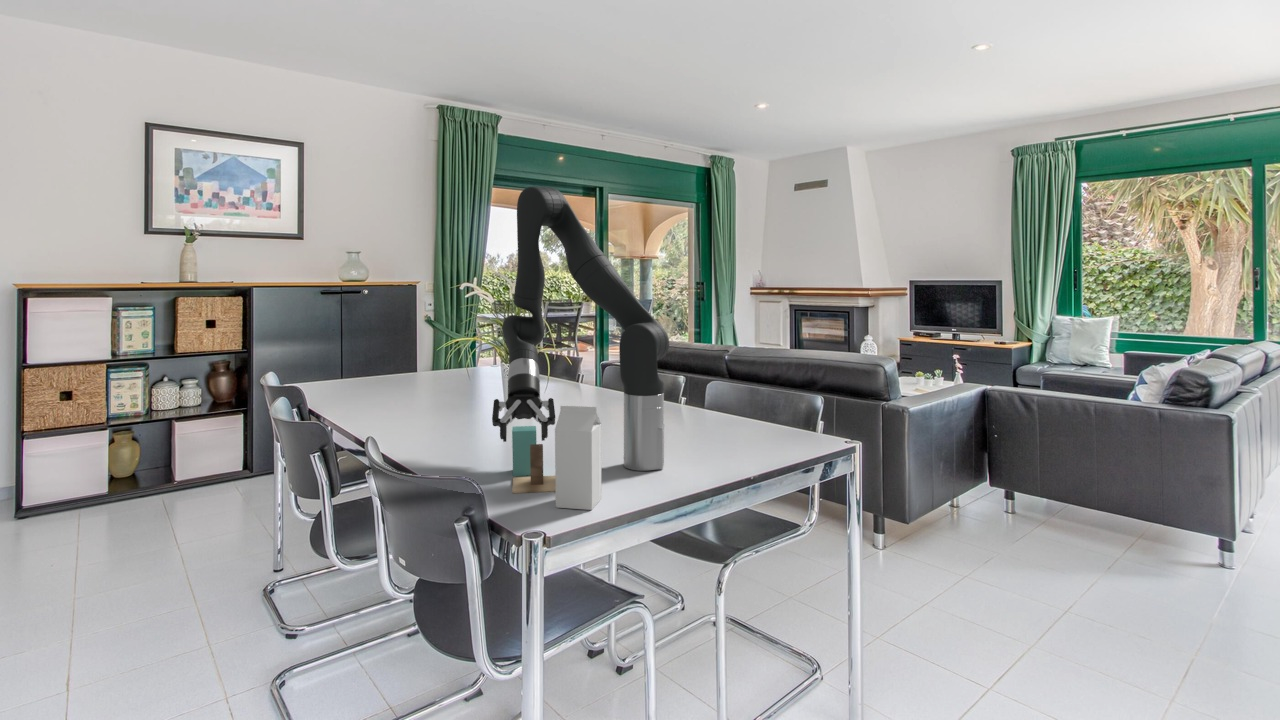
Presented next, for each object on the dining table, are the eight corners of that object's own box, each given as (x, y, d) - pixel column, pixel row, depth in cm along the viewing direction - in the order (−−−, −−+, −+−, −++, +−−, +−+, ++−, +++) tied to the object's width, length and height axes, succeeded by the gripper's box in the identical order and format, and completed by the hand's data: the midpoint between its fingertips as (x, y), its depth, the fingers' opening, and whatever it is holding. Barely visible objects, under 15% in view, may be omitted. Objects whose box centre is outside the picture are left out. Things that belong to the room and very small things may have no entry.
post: (559, 477, 146) (559, 439, 145) (562, 490, 136) (561, 450, 135) (513, 479, 144) (512, 441, 143) (512, 493, 134) (511, 452, 134)
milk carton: (591, 510, 124) (591, 410, 122) (555, 508, 126) (554, 408, 123) (601, 499, 131) (601, 403, 129) (567, 496, 133) (566, 402, 130)
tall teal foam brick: (536, 468, 153) (535, 425, 151) (536, 475, 147) (536, 430, 146) (513, 469, 152) (512, 426, 151) (513, 476, 147) (512, 431, 146)
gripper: (492, 372, 156) (490, 431, 146) (554, 371, 158) (556, 429, 148) (494, 391, 162) (492, 449, 152) (553, 390, 164) (555, 447, 154)
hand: (524, 439), depth 150 cm, fingers open, 8 cm apart
